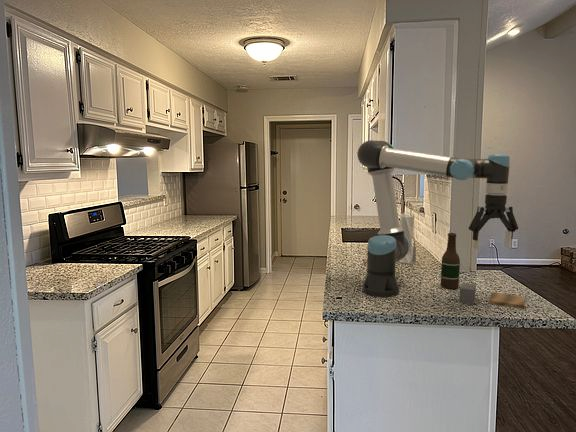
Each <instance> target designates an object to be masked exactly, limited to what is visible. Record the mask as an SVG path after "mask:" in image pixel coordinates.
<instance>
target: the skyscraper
mask: <svg viewBox="0 0 576 432" xmlns="http://www.w3.org/2000/svg"><path fill="white" fill-rule="evenodd" d="M399 217H400V218H399V225H400V227H401V228H402V229H404V234H405V237H406V238H407V239H408V241H409V246H410V247H409V251H408V253H407V255H406V256H405V257H404V258H403V259H401V260H399V261H398V263H399V264H403V265H405V264H406V265H414V264H416V263H417V260H416V259H417V258H416V256H417V255H416V254H417V253H416V250H417V246H416V239H414V242H413V247H412V237H413V233H414V224H415V216H414V214H413V213H412V212H410V211H404V212H403V213H401V214H400V216H399Z"/></svg>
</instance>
